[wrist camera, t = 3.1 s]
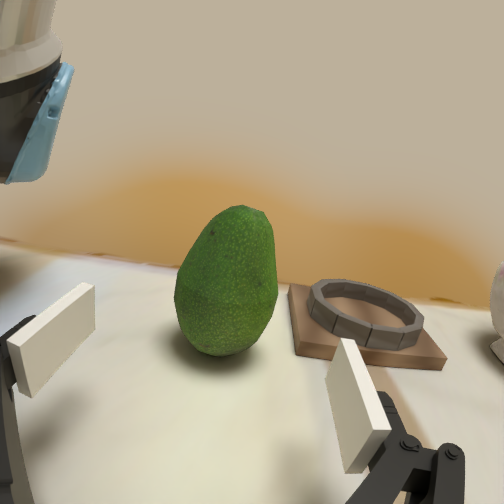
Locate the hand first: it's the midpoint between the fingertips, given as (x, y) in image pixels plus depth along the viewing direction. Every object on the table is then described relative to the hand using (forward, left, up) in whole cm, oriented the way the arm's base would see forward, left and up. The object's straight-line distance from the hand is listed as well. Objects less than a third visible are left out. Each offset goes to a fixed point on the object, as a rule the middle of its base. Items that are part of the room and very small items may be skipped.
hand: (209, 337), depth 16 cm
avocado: (0, +9, -7) cm, 11 cm away
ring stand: (+15, +17, -6) cm, 24 cm away
